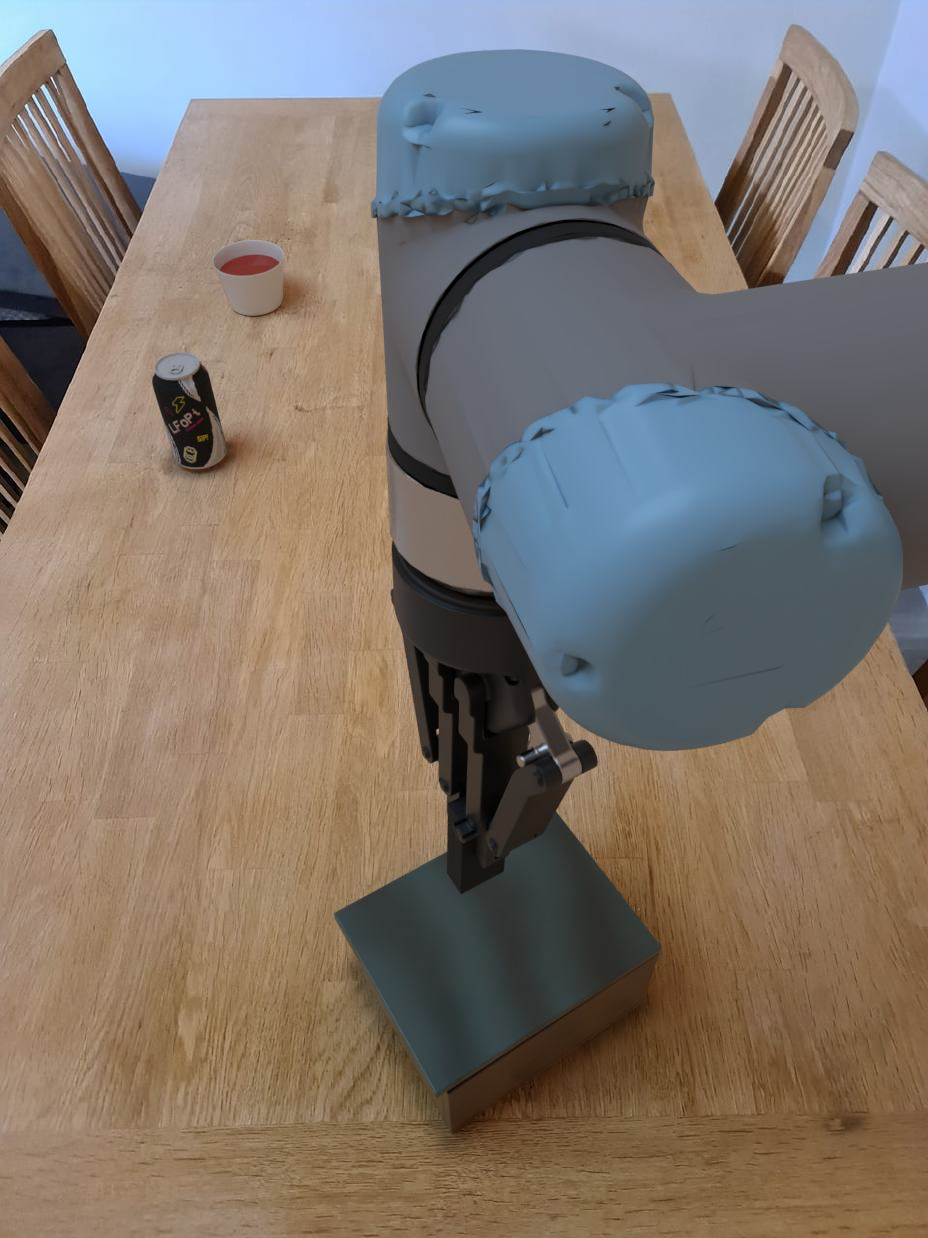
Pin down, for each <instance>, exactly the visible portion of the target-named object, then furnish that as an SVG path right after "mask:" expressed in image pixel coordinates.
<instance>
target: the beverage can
mask: <svg viewBox="0 0 928 1238" xmlns="http://www.w3.org/2000/svg"><path fill="white" fill-rule="evenodd" d="M153 370H154V373H153V374H152V378H151V385H152V389H153V392H154V395H155V399H156V402H157V405H158V409H159V412H160V415H161V418H162V422H163V426H164V428H165V431H166V435H167V438H168V442H169V445H170V448H171V451H172V455H173V458H174V460H175V462H176V463H177V464H178V465H179V466H181V467H183V468H185V469H189V470H203V469H208V468H211V467H213V466H215V465H217V464H218V463H220V462H221V461H222V460H223V459H224V458H225V456H226V454H227V451H228V447H227V442H226V439H225V434H224V430H223V426H222V423H221V418H220V415H219V410H218V406H217V401H216V398H215V394H214V389H213V386H212V382H211V378H210V374H209V371H208V369H207V368H206V367H205V365H203V364H202V363H200V359H199V358H198V356H197V355H195V354H193V353H190V352H185V351H178V352H172V353H169V354H165V355H164V356H161V357H160V358H159V359H157V361H155V363H154V365H153Z"/></svg>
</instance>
